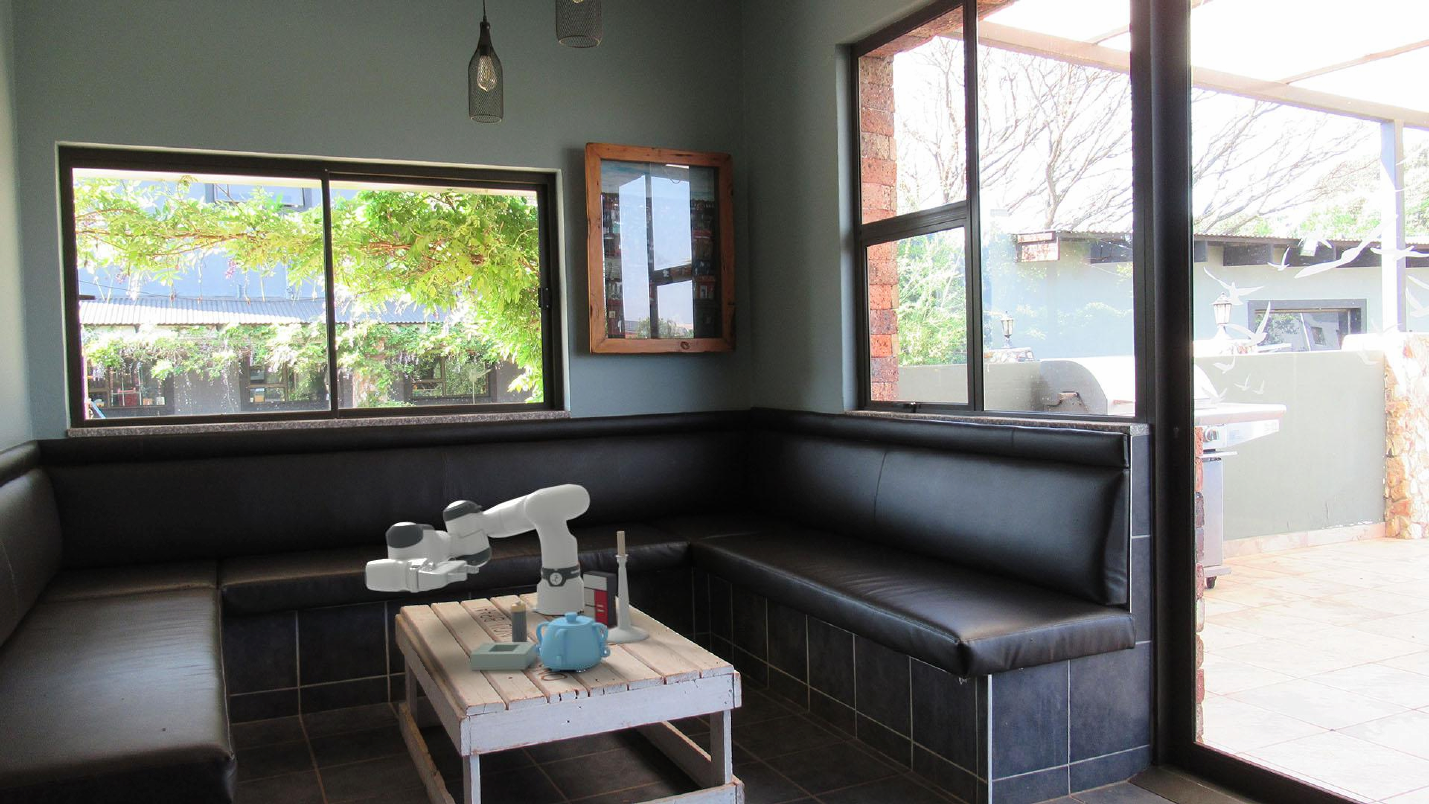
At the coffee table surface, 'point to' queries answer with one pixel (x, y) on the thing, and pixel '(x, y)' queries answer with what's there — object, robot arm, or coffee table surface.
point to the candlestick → (624, 604)
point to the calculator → (600, 597)
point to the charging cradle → (503, 656)
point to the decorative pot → (572, 643)
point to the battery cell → (518, 622)
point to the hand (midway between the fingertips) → (472, 573)
